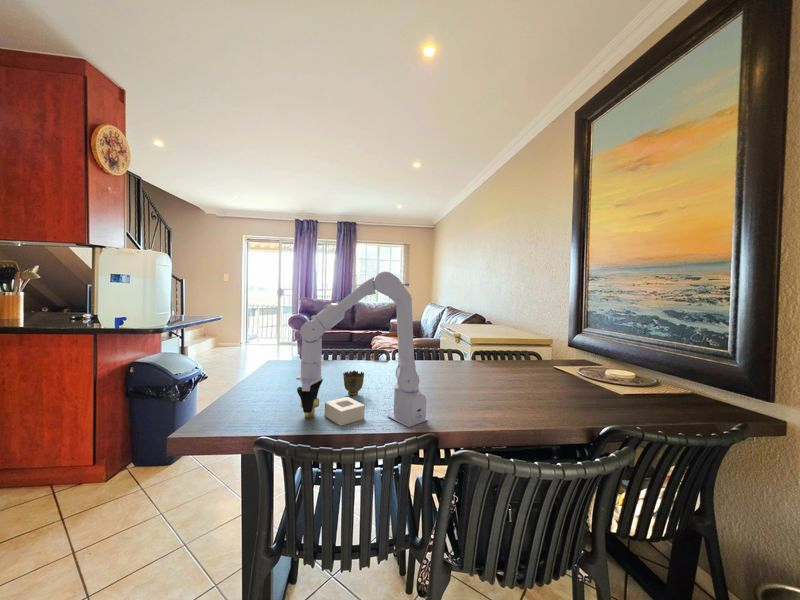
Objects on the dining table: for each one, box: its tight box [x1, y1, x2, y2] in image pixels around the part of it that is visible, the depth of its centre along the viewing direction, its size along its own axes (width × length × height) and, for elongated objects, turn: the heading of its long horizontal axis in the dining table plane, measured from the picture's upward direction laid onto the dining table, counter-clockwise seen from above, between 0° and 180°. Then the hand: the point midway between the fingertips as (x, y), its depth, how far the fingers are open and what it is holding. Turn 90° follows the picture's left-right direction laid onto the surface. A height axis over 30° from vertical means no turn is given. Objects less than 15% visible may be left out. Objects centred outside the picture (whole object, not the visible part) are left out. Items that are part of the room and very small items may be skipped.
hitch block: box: [323, 396, 366, 427], centre depth 92 cm, size 9×8×4 cm
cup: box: [342, 369, 365, 397], centre depth 112 cm, size 8×7×8 cm
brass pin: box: [300, 397, 320, 420], centre depth 91 cm, size 5×5×5 cm
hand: (309, 407), depth 91 cm, fingers open, 6 cm apart
